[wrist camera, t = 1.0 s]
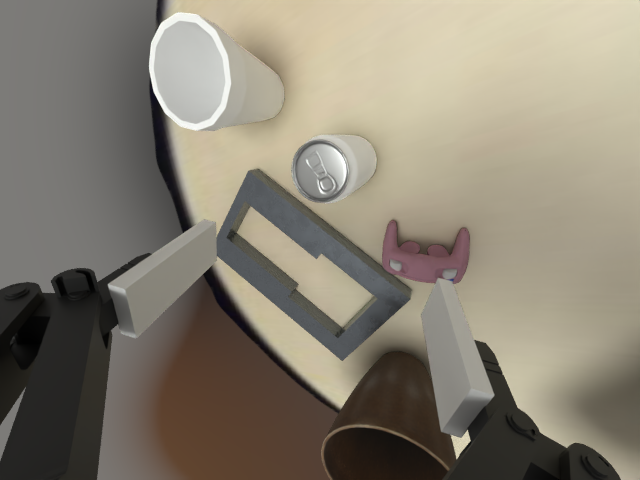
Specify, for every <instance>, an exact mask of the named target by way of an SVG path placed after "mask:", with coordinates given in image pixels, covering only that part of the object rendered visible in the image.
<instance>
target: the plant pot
mask: <svg viewBox="0 0 640 480" xmlns="http://www.w3.org/2000/svg"><path fill="white" fill-rule="evenodd" d="M321 455H322V462H323V465H324V468H325V470H326V473H327V474H328V476H329V478H330V479H331V480H442V479H443V478H444V477H445V475H446V474H447V472H448V471H449V470H450V468H451V467H452V466H453V464H454V463H455V461H456V455H455V451H454V447H453V442H452V439H451V435H450V434H447V433H444V432H441V429H440V423H439V417H438V411H437V405H436V399H435V393H434V388H433V383H432V381H431V379H430V377H429V374H428V372H427V370H426V368H425V367H424V365H423V364H422V363H421V362H420V361H419V360H418V359H417V358H416V357H414V356H412V355H410V354H408V353H404V352H390V353H387V354H385V355H384V356H382V357H381V358H380V359H379V360H378V361H377V362H376V363H375V364H374V365H373V366H372V368H371V369H370V370H369V371H368V372H367V373H366V374H365V376H364V377H363V378H362V379H361V381H360V382H359V383H358V385H357V386H356V388H355V389H354V390H353V392H352V393H351V395H350V396H349V398H348V399H347V401H346V402H345V404H344V406H343V407H342V409H341V411H340V412H339V414H338V416H337V418H336V419H335V421H334V423H333V425H332V427H331V429H330V431H329V433H328V435H327V436H326V438H325V440H324V442H323V445H322V451H321Z"/></svg>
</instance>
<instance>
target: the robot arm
mask: <svg viewBox="0 0 640 480" xmlns="http://www.w3.org/2000/svg"><path fill="white" fill-rule="evenodd" d="M216 261H217V243H216V222H213V221H209V220H205V219H204V220H202V221H201V222H199V223H198V224H197V225H195V226H194V227H192V228H191V229H189V230H188V231H186V232H185V233H183V234H182V235H180V236H179V237H177V238H176V239H174V240H173V241H171V242H170V243H168V244H167V245H165V246H164V247H162V248H161V249H159V250H158V251H156V252H155V253H153V254H150V253H147V254H144V255H141V256H139V257H136V258H135V259H133V260H131V261H130V262H128V264H125V265H124V266H122V267H121V268H120V269H117V270H116V271H114V272H113V273H111V274H110V275H108V276H106V277H105V278H103V279H102V280H100V281H99V282H97V280H96V276H95V273H94V271H92V270H91V269H86V268H77V269H71V270H67V271H64V272H62V273H60V274H58V275H56V276H55V277H54V278H53V279H52V280H51V283H52V286H53V288H54V291H55V293H42V291H41V289H40V286H39V285H38V284H36V283H30V282H26V283H18V284H13V285H10V286H8V287H5V288H3V289H1V290H0V425H1V423H2V421H3V420H4V419H5V417H6V416H7V414H8V413H9V411H10V410H11V408H12V407H13V405H14V404H15V402H16V400H17V399H18V398H19V396H20V395H21V393H22V391H23V390H24V388H25V387H26V389H25V392H24V395H23V398H22V401H21V403H20V406H19V409H18V412H17V415H16V418H15V421H14V423H13V426H12V429H11V432H10V435H9V438H8V441H7V444H6V446H5V450H4V452H3V455H2V458H1V461H0V480H97V474H98V464H99V455H100V446H101V435H102V427H103V417H104V408H105V399H106V389H107V380H108V371H109V361H110V351H111V343H112V332H111V330H112V329H113V328H114V327H115V326H116V325H117V324H118V325H119V329H120V332H121V334H124V335H127V336H130V337H133V338H137V337H138V336H139V335H140V334H141V333H142V332H143V331H145V330H146V329H147V328H148V327H149V326H150V325H151V324H152V323H153V322H154V321H155V320H156V319H157V318H158V317H159V316H160V315H161V314H162V313H163V312H164V311H165V310H166V309H167V308H168V307H169V306H170V305H171V304H172V303H173V302H174V301H175V300H177V299H178V297H180V296H181V295H182V294H183V293H184V292H185V291H186V290H187V289H188V288H189V287H190V286H191V285H192V284H193V283H194V282H195V281H196V280H197V279H198V278H199V277H200V276H201V275H202V274H203V273H204V272H205V271H206V270H208V269H209V268H210V267H211V266H212V265H213V264H214V263H215V262H216ZM421 317H422V323H423V329H424V335H425V341H426V346H427V352H428V358H429V364H430V370H431V376H432V382H433V388H434V393H435V399H436V405H437V411H438V417H439V423H440V429H441V432H444V433H447V434H450V435H454V436H457V437H460V438H461V437H462V436H463V435H464V434H465V432H466V431H467V430H468V432H469V436H470V440H471V441H470V443H469V444H468V445H467V446H466V447H465V449H464V450H463V451H462V452H461V453H460V456H459V457H458V459H457V460H456V461H455V463H454V464H453V466H452V467H451V468H450V470H449V471H448V472H447V474H446V475H445V477H444V478H443V479H442V480H621V479H620V477H619V475H618V474H617V472H616V471H615V469H614V468H613V467H612V465H611V464H610V463H609V462H608V461H607V460H606V459H605V458H604V457H603V456H602V455H600V454H599V453H598V452H596V451H595V450H593V449H592V448H590V447H588V446H586V445H584V444H580V443H574V444H572V445H570V446H569V447H568V448H566V447H564V446H562V445H560V444H559V443H557V442H555V441H553V440H551V439H550V438H548V437H546V436H544V435H543V434H541V433H540V432H539V429H538V427H537V426H536V424H535V423H534V422H533V420H532V419H531V418H530V417H529V416H528V415H527V414H526V413H524V412H523V411H521V410H520V409H518V408H517V405H516V403H515V401H514V398H513V396H512V394H511V391H510V389H509V387H508V384H507V382H506V380H505V377H504V375H502V371H501V368H500V366H499V364H498V361H497V359H496V357H495V354H494V353H493V352H492V350H491V349H490V348H489V347H488V345H487V344H486V343H483V342H480V341H476V340H474V339H473V336H472V333H471V330H470V328H469V325H468V322H467V320H466V317H465V314H464V312H463V309H462V306H461V304H460V301H459V298H458V295H457V293H456V290H455V287H454V285H453V282H452V281H449V280H445V279H441V278H438V279H437V281H436V283H435V285H434V288H433V290H432V292H431V294H430V296H429V299H428V301H427V303H426V305H425V307H424V309H423V312H422V314H421Z"/></svg>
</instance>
